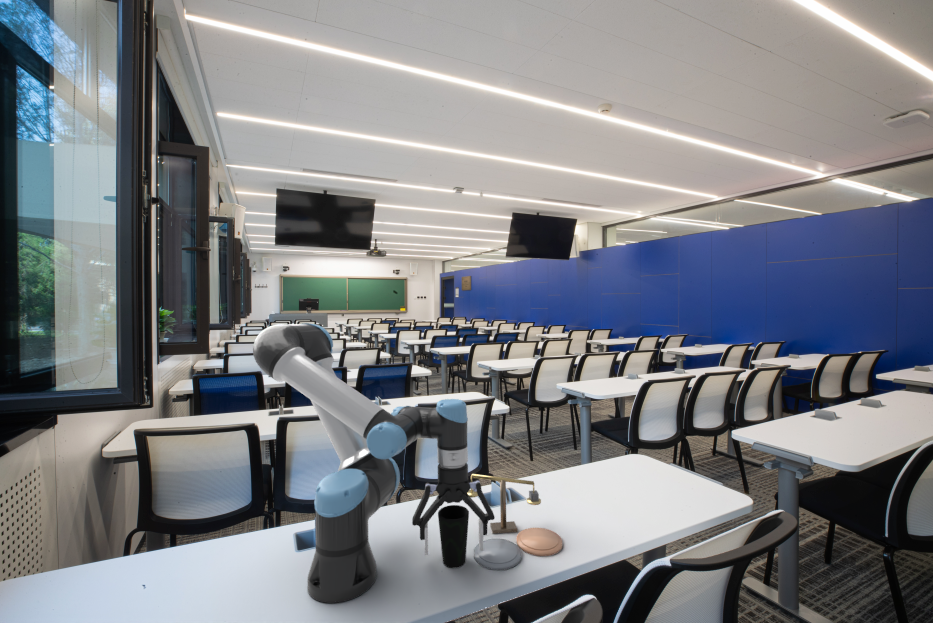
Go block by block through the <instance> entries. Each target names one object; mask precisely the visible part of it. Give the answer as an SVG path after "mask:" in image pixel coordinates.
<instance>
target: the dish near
mask: <svg viewBox="0 0 933 623" xmlns="http://www.w3.org/2000/svg"><path fill="white" fill-rule="evenodd" d="M483 550H484V551H480V547H479V542H478V543H477V544H476V545H475V546H474V548H473V559H474V561H475V562H476V563H477V564H478V565H479V566H481V567H483V568H485V569H488V570H492V571H493V570H494V571H505V570H509V569H512V568H514V567H516V566H517V565H518V564H520V563H521V561H522V550H521V549H520V548H519V546H518V545H517V543H516V542H513V541H511V540H508V539H504V538H487V539H485V540H484V539H483Z"/></svg>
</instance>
